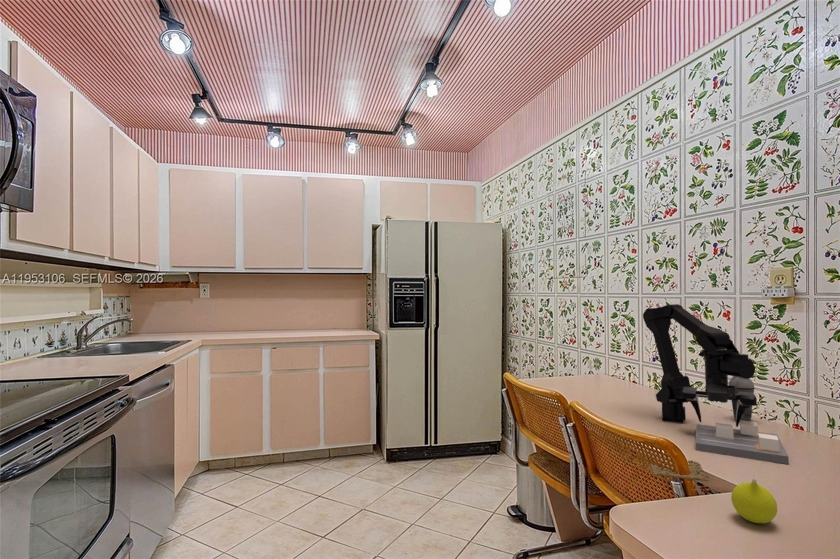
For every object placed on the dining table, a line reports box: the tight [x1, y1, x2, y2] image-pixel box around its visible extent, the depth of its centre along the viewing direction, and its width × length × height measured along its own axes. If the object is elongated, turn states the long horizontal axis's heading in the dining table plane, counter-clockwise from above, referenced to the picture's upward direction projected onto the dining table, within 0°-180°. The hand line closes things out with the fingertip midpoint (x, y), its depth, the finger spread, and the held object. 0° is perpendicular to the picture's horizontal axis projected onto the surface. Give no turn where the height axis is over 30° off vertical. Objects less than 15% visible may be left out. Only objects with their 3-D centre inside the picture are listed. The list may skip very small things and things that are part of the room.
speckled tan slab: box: [649, 460, 710, 482], centre depth 109 cm, size 12×12×1 cm
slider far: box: [739, 420, 759, 436], centre depth 128 cm, size 4×4×3 cm
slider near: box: [758, 433, 780, 452], centre depth 116 cm, size 4×4×3 cm
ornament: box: [730, 477, 778, 524], centre depth 84 cm, size 7×7×10 cm
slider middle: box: [715, 422, 734, 439], centre depth 126 cm, size 4×4×3 cm
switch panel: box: [695, 423, 790, 465], centre depth 124 cm, size 20×20×2 cm
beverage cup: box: [728, 376, 756, 422], centre depth 147 cm, size 7×7×20 cm
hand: (718, 424), depth 132 cm, fingers open, 9 cm apart
